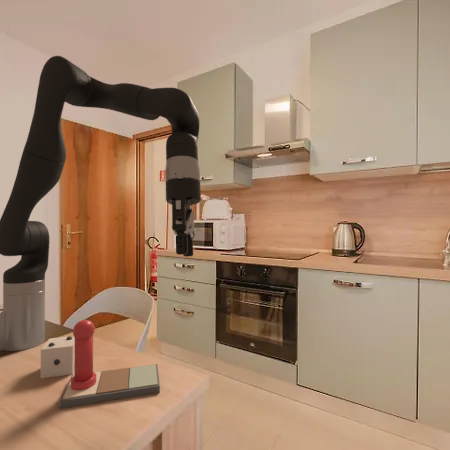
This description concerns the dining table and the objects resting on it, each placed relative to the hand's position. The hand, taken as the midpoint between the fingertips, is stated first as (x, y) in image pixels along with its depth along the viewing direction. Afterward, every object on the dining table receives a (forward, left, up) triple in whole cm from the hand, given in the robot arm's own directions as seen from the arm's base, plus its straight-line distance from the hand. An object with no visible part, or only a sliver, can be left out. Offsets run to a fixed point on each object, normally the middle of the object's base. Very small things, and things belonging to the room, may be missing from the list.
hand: (185, 255), depth 60 cm
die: (-26, +11, -26) cm, 38 cm away
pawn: (-19, +1, -24) cm, 31 cm away
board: (-14, +1, -26) cm, 29 cm away
